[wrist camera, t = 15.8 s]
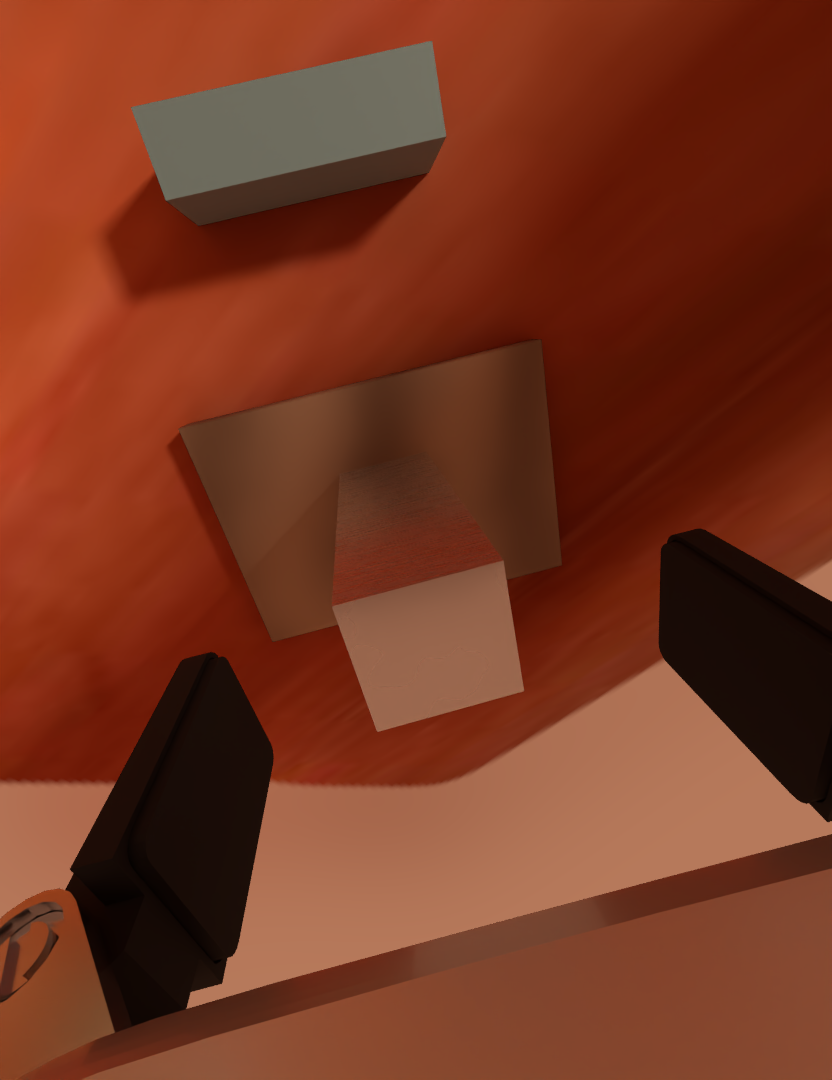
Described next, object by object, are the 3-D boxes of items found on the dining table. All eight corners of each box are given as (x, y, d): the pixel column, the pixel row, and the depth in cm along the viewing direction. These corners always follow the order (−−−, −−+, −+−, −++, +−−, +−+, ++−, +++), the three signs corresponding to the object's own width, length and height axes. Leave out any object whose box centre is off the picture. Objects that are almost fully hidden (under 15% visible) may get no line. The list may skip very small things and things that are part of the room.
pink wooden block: (426, 451, 18) (503, 560, 9) (453, 577, 21) (534, 759, 12) (339, 474, 18) (331, 606, 9) (377, 597, 21) (400, 797, 12)
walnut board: (531, 339, 18) (541, 339, 17) (553, 556, 22) (562, 565, 21) (187, 424, 18) (178, 429, 17) (275, 629, 22) (272, 642, 21)
